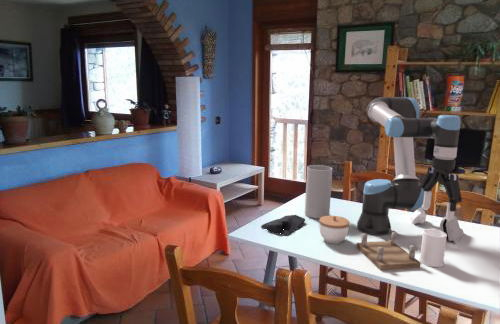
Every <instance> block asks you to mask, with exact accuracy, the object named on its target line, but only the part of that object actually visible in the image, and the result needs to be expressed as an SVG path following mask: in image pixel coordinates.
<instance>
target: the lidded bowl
mask: <svg viewBox="0 0 500 324" xmlns="http://www.w3.org/2000/svg"><path fill="white" fill-rule="evenodd" d="M318 222H319V226H318V227H319V233H320V236H321V237H322V238H323V240H324V242H327V243H328V244H332V245H333V244H335V245H336V244H341V243H342V242H343V241H344V240H345V239H346V238H347V236H348V233H349V228H350V220H349V219H348V218H345V217H342V216H339V215H329V216H323V217H321V218H320V219H319V221H318Z"/></svg>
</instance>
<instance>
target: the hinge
mask: <svg viewBox="0 0 500 324" xmlns="http://www.w3.org/2000/svg"><path fill="white" fill-rule="evenodd" d="M439 230H440V231H443V232H445V233H446V234H447V237H446V241H448V242H453V244H454V245H456V244H457V243H458V242H459V240H460V239H461V238H462V236H463V235H464V234H465V232H464V230H463V229H462V228H461V227H460V223H459V220H458V217H457V216H456V215H454V219H451V220H447V219H446V216H444V217H443V218H442V219H441V221H440V224H439Z"/></svg>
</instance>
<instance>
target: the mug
mask: <svg viewBox="0 0 500 324" xmlns="http://www.w3.org/2000/svg"><path fill="white" fill-rule="evenodd" d="M446 237H447V234H446V233H445V232H443V231H441V229H434V228H426V229H423V231H422V239H421V245H420V255H419V259H418V261H419V262H421V263H422V265H425V266H428V267H431V268H440V267H441V268H442V267H443V266H444V264H445V262H444V260H445V259H444V258H445V251H446V243H447V240H446Z"/></svg>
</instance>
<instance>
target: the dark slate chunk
mask: <svg viewBox="0 0 500 324" xmlns="http://www.w3.org/2000/svg"><path fill="white" fill-rule="evenodd" d="M305 221H306V219H305V217H302V216H299V215H297V214H290V215H284V216H283V217H281V218H277V219H274V220H271V221H268V222H265V223H263V224H261V226H260V227H261V229H262V228H264V229H267V230H268V232H269V231H270V233H272V232H274V233H273V234H275V233H278V234H277V235H281V234H283V235H282V236H288V235H289V234H292V233H293V232H294V231H295V230H296V229H298V228H299V227H300V226H302V224H303V223H305ZM264 229H263V230H264ZM283 229H284V230H283ZM267 230H266V231H267ZM280 233H281V234H280Z"/></svg>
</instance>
